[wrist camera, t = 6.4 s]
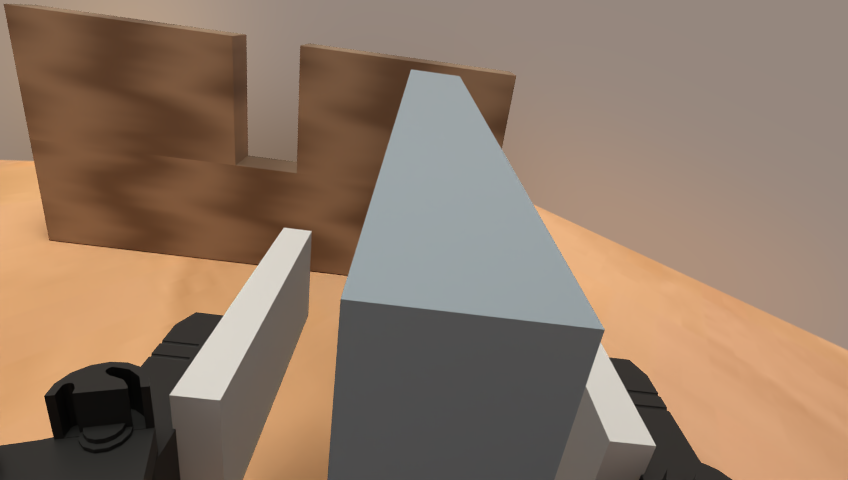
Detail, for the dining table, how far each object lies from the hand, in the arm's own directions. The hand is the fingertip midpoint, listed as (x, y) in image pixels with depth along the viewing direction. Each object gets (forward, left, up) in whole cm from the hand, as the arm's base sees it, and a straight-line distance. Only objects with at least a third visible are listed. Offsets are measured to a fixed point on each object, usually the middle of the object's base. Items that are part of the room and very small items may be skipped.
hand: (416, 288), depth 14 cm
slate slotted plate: (0, 0, -7) cm, 7 cm away
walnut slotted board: (+1, -16, -7) cm, 17 cm away
